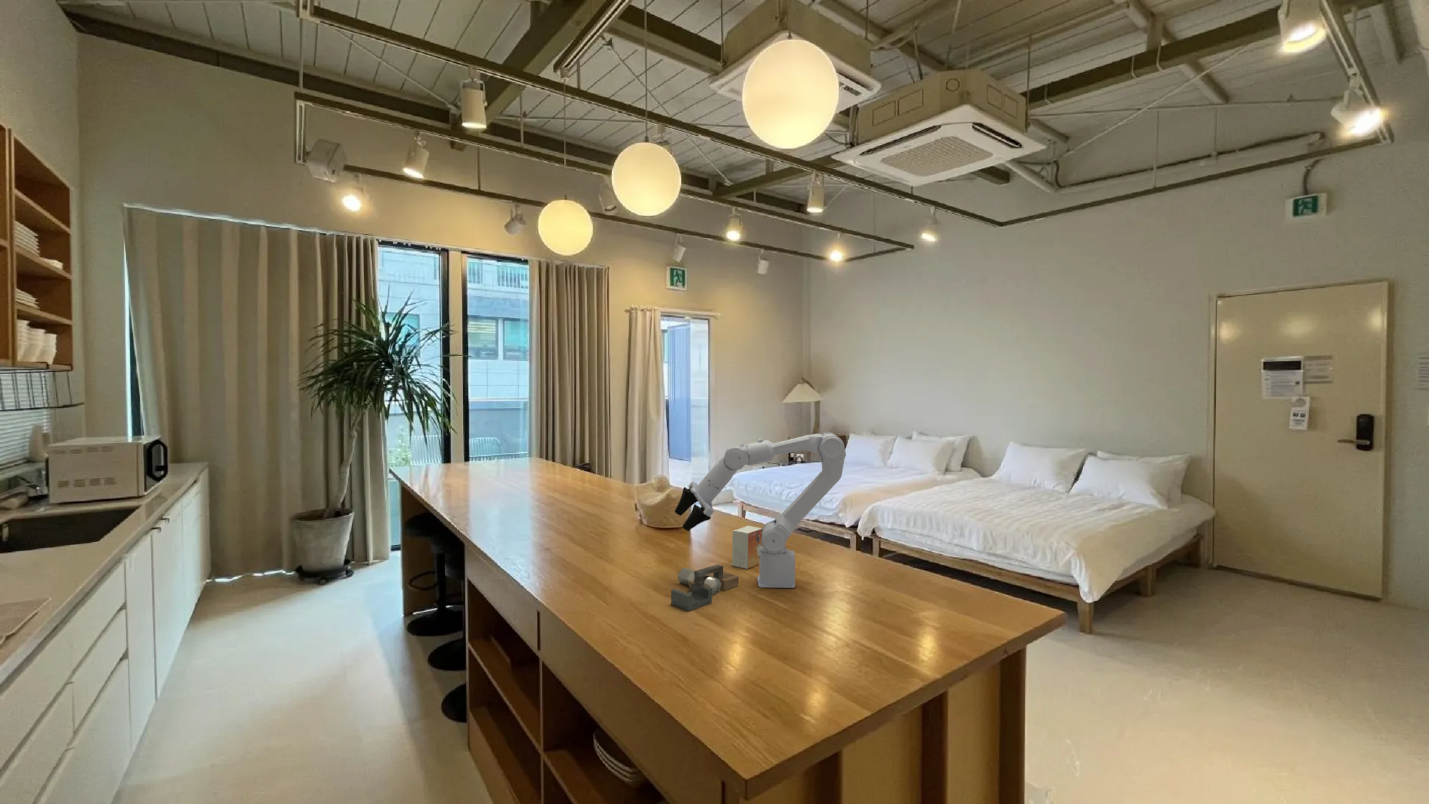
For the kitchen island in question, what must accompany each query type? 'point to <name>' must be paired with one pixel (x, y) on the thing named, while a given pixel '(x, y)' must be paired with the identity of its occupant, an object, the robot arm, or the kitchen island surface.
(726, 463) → the robot arm
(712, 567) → the bearing block
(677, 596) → the cradle
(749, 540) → the small box
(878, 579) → the kitchen island surface
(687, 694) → the kitchen island surface
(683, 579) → the axle
